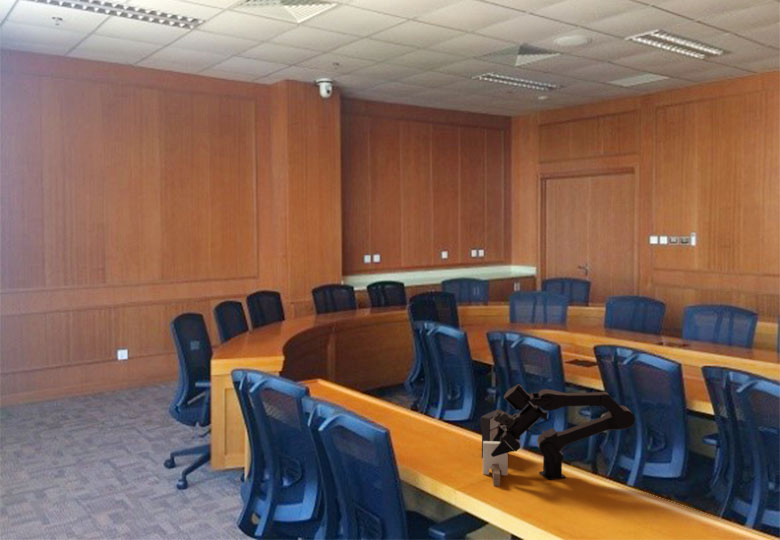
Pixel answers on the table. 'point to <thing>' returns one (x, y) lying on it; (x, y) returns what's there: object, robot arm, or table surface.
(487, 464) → the notched plate
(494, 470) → the slotted beam
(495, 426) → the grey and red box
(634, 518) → the table surface
